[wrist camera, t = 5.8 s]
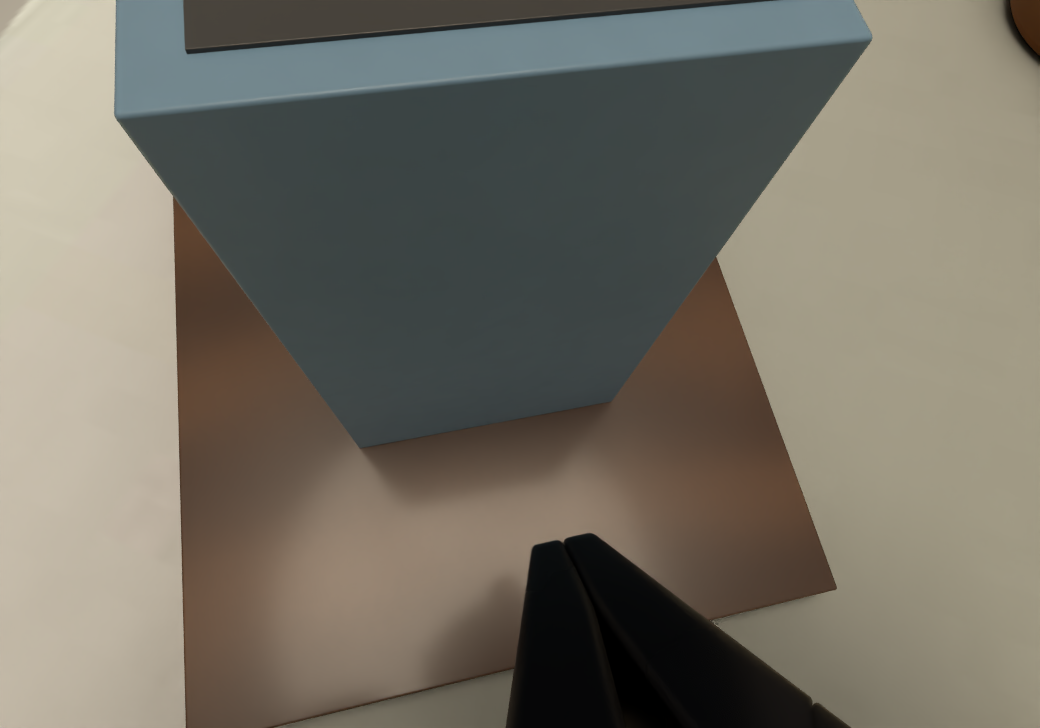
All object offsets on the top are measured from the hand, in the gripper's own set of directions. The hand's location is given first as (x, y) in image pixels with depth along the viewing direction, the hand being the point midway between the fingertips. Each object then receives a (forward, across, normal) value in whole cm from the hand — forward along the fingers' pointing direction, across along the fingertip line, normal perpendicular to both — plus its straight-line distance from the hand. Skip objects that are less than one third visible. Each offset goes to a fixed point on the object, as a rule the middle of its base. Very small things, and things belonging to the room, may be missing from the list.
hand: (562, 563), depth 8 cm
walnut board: (+13, 0, 0) cm, 13 cm away
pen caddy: (+11, 0, -1) cm, 11 cm away
